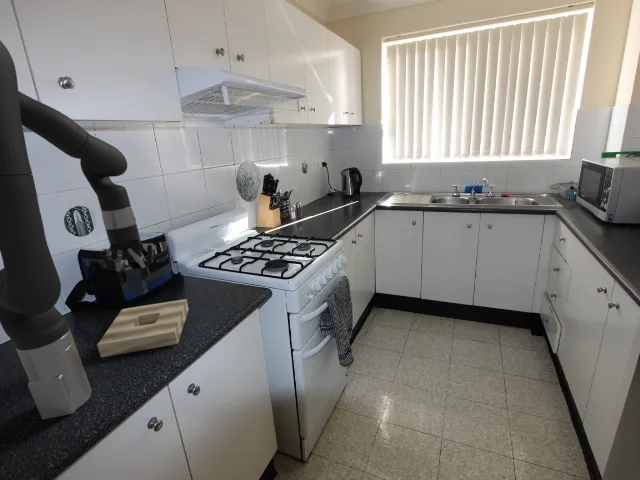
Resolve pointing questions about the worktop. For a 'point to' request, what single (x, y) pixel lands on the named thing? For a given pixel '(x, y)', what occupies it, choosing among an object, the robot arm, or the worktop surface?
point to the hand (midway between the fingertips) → (135, 279)
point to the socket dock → (144, 328)
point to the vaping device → (135, 279)
